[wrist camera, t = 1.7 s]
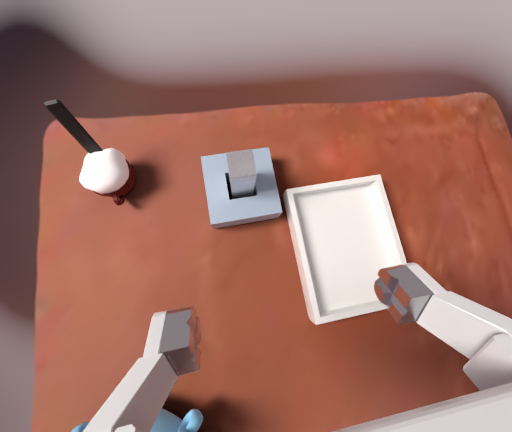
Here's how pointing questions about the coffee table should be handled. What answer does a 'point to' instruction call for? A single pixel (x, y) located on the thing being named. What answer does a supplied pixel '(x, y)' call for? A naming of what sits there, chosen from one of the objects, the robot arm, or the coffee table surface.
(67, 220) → the coffee table surface
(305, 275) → the tray
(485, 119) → the coffee table surface
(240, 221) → the socket block
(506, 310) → the coffee table surface
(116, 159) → the cocoa
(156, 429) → the decorative pot
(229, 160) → the pin
